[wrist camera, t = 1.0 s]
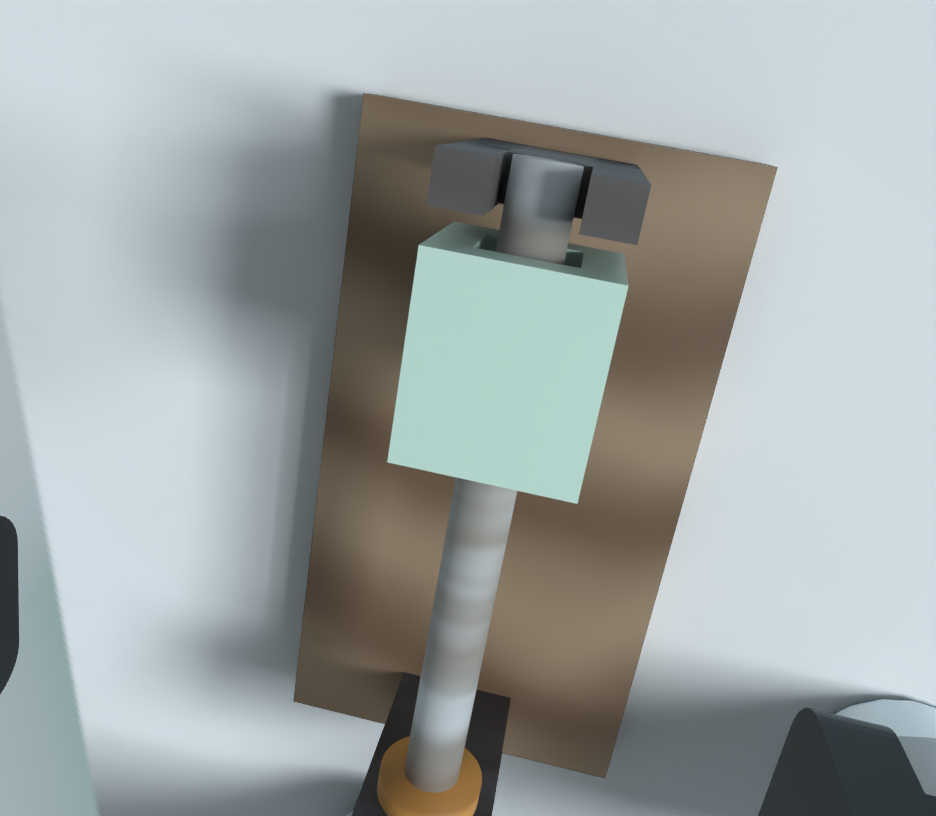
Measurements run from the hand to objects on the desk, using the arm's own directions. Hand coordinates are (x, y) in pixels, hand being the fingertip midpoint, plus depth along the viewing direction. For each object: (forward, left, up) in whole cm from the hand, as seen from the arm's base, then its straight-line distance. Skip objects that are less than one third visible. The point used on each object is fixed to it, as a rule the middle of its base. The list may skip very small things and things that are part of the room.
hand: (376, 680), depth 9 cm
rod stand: (+6, 0, -20) cm, 21 cm away
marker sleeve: (0, 0, -15) cm, 15 cm away
